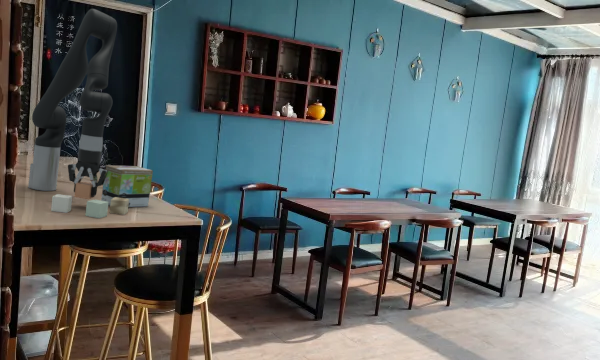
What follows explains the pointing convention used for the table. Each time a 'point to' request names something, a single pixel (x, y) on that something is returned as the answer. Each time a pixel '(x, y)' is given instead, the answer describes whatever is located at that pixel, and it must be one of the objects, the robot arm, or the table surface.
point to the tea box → (127, 184)
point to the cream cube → (61, 203)
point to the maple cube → (119, 205)
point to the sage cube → (96, 208)
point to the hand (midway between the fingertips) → (84, 195)
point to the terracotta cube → (83, 190)
